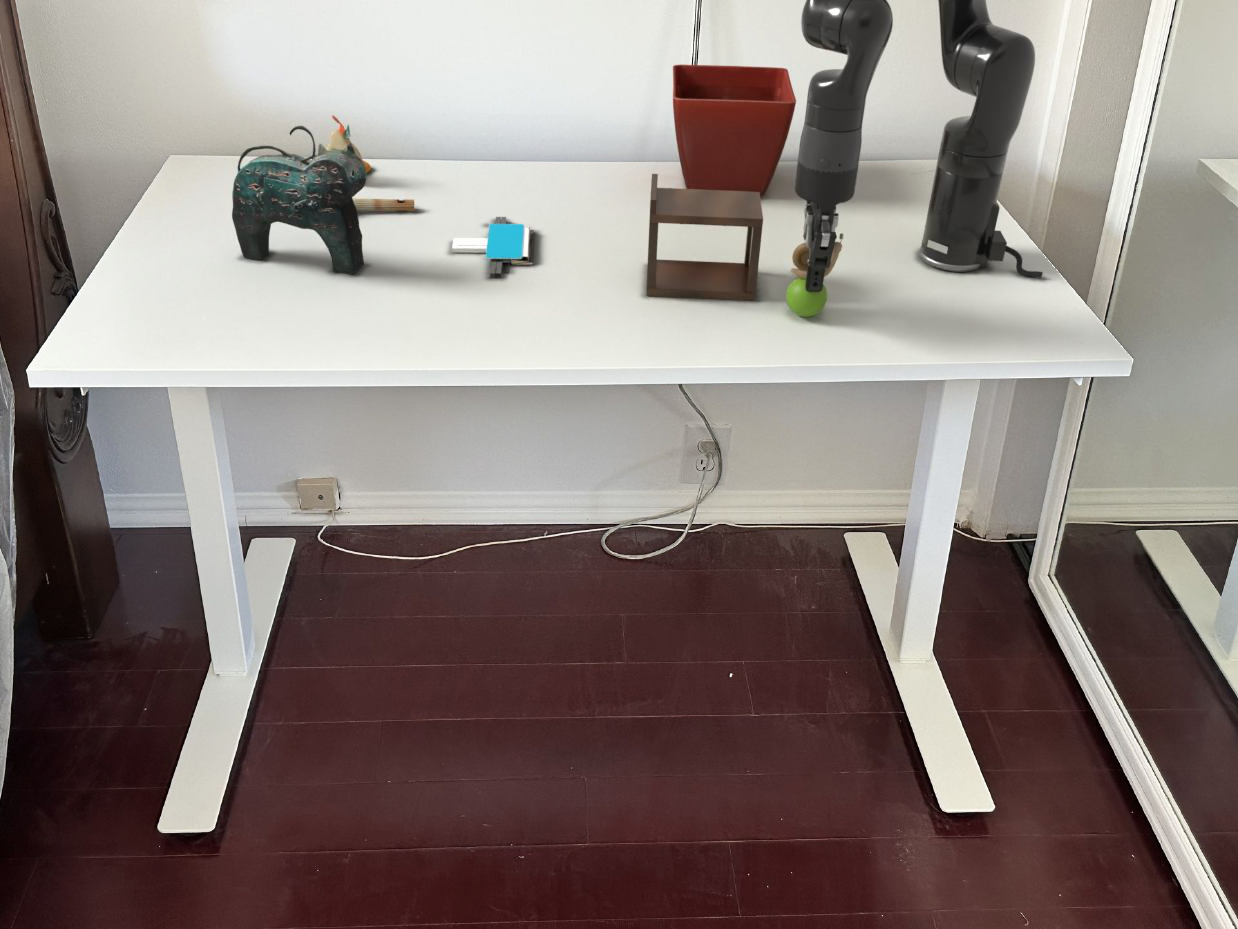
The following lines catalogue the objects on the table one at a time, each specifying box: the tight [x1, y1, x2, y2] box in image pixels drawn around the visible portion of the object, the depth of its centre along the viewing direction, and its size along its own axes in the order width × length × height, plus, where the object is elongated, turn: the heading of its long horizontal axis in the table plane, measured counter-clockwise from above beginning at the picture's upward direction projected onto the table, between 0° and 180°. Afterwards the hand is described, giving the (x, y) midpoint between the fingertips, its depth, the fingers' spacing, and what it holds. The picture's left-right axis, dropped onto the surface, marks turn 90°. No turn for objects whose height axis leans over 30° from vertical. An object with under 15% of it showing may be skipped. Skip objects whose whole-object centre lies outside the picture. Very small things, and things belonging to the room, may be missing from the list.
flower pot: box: [672, 64, 797, 197], centre depth 192 cm, size 19×19×17 cm
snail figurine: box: [785, 233, 844, 318], centre depth 155 cm, size 5×6×12 cm
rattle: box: [325, 115, 372, 174], centre depth 191 cm, size 8×8×12 cm
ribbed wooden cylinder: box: [352, 197, 415, 212], centre depth 182 cm, size 4×3×20 cm
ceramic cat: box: [231, 125, 368, 275], centre depth 161 cm, size 20×6×20 cm, turn 74°
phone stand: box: [451, 216, 535, 278], centre depth 173 cm, size 20×12×2 cm, turn 3°
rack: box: [645, 173, 764, 302], centre depth 161 cm, size 15×10×14 cm, turn 87°
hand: (812, 283), depth 155 cm, fingers open, 3 cm apart
